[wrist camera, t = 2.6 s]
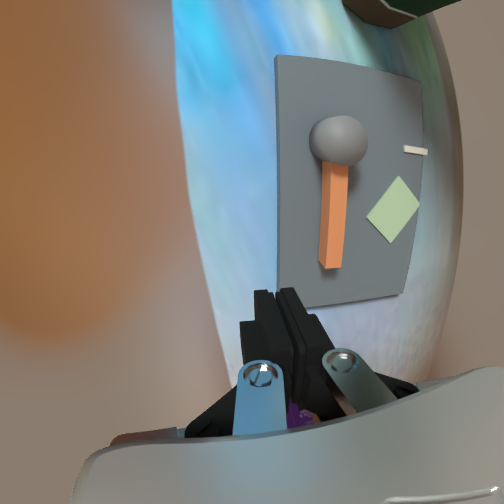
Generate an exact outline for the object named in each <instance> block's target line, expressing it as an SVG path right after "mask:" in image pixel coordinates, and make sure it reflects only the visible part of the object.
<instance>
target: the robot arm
mask: <svg viewBox="0 0 504 504" xmlns="http://www.w3.org/2000/svg"><path fill="white" fill-rule="evenodd" d="M254 311H255V320H254V321H242V322H240V338H241V349H242V357H243V364H244V366H243V367H242V368H241V369H240V371H239V374H238V382H237V385H236V386H235V387H234V388H233V389H231V390H230V391H229V392H228V393H227V394H226V395H224V396H223V397H222V398H221V399H220V400H218V401H217V402H216V403H215V404H213V405H212V406H211V407H210V408H208V409H207V410H206V411H205V412H203V413H202V414H201V415H200V416H198V417H197V418H196V419H195V420H193V421H192V422H191V423H190V424H189V425H188V426H187V427H186V428H181V429H177V427H171V428H165V429H158V430H151V431H143V432H135V433H126V434H121V435H118V436H117V437H115V438H114V439H113V440H112V442H111V443H110V446H108V447H105V448H102V449H100V450H98V451H96V452H94V453H93V454H91V455H90V456H89V457H88V458H87V459H86V460H85V462H84V463H83V465H82V467H81V468H80V471H79V473H78V476H77V478H76V481H75V484H74V488H73V492H72V495H71V500H70V504H504V368H503V367H499V366H487V367H481V368H476V369H472V370H470V371H467V372H464V373H461V374H459V375H456V376H453V377H447V378H442V379H437V380H432V381H426V382H420V383H416V385H415V386H414V385H413V384H411V383H408V382H405V381H402V380H399V379H395V378H392V377H389V376H386V375H382V374H379V373H376V372H373V370H372V369H371V368H370V367H369V366H368V365H367V364H366V363H365V361H364V360H363V359H362V358H361V357H360V356H359V355H358V354H357V353H356V352H354V351H352V350H349V349H345V348H337V349H335V347H334V346H333V344H332V342H331V340H330V339H329V337H328V335H327V333H326V332H325V330H324V328H323V326H322V324H321V323H320V321H319V319H318V317H317V316H316V315H315V314H308V313H307V311H306V309H305V308H304V306H303V304H302V302H301V300H300V298H299V296H298V295H297V293H296V291H295V289H294V287H287V288H280V292H276V294H275V297H274V295H273V293H272V292H269V293H268V290H267V289H266V290H254ZM290 398H291V402H292V404H296V403H297V406H298V409H299V410H307V411H310V412H312V418H313V421H314V422H315V424H311V425H306V426H301V427H295V428H290V429H287V422H286V414H287V413H288V411H289V402H290Z"/></svg>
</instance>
